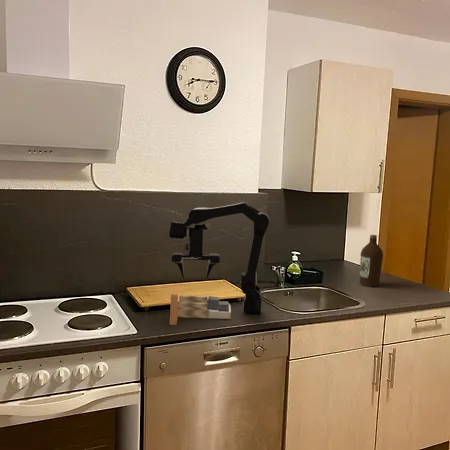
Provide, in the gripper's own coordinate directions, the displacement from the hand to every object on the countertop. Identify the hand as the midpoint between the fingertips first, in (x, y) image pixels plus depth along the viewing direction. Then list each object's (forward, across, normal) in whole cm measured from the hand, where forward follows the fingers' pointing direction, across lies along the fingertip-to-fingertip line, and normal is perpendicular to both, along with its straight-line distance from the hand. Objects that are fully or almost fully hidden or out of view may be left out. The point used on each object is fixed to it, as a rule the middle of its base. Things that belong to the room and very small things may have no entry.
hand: (195, 278), depth 190 cm
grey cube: (+10, -7, +7) cm, 14 cm away
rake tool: (+12, +7, +17) cm, 22 cm away
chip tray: (+12, -9, +7) cm, 17 cm away
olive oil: (+13, -86, -42) cm, 97 cm away
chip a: (+9, -9, +8) cm, 15 cm away
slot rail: (+12, +1, +7) cm, 14 cm away
